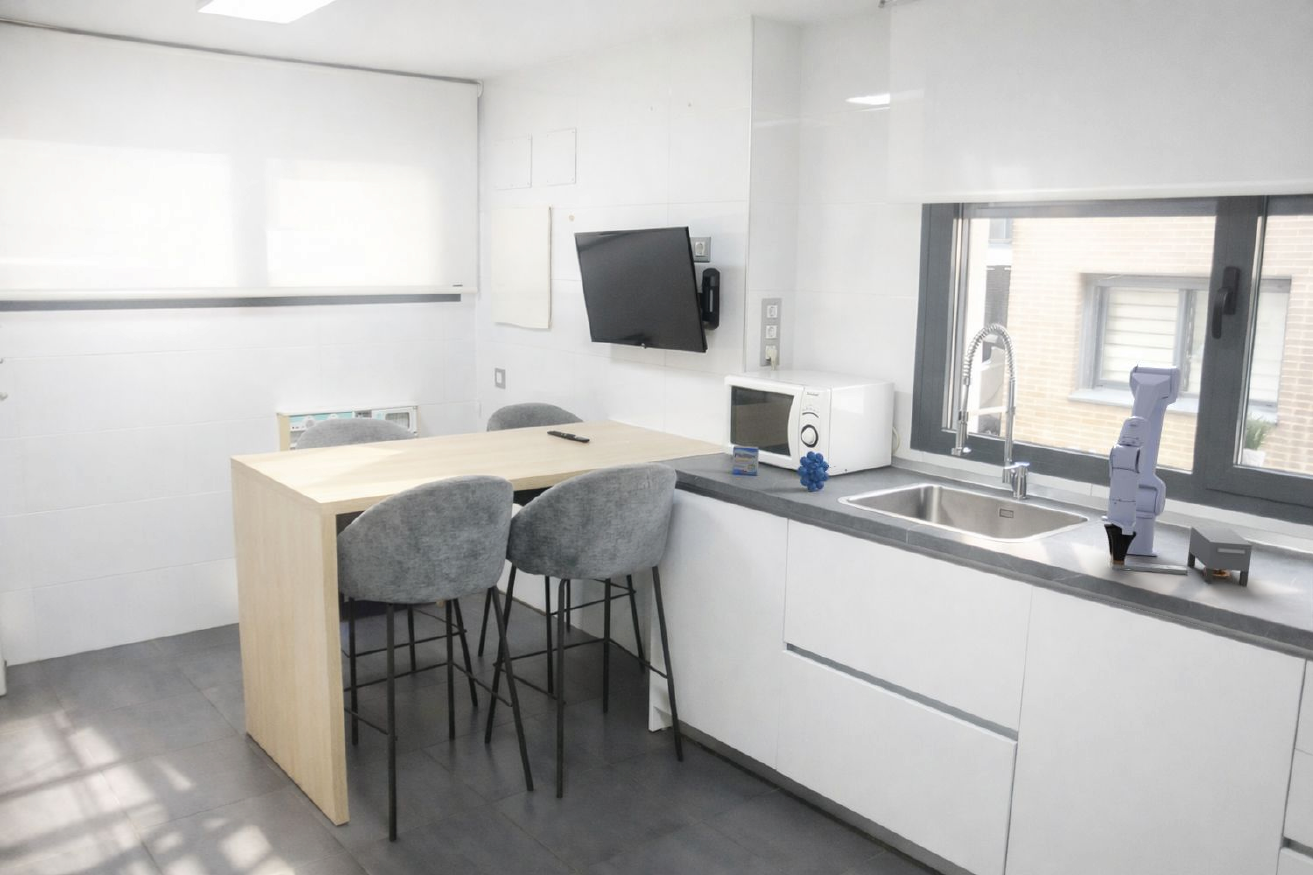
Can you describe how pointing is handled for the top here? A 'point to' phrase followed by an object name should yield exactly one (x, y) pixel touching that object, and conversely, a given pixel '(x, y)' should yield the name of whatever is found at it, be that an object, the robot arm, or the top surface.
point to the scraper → (1147, 567)
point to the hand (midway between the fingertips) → (1117, 558)
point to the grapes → (813, 471)
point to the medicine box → (745, 460)
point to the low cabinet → (1219, 551)
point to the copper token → (1219, 573)
